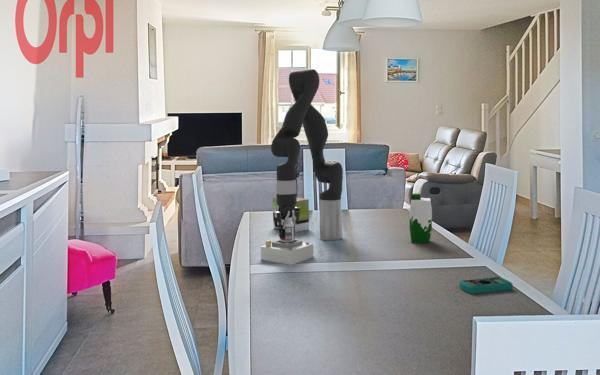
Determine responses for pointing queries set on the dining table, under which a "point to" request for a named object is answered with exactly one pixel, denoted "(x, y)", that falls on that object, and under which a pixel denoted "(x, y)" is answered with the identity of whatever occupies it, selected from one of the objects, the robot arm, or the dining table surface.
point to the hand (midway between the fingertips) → (287, 236)
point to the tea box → (303, 214)
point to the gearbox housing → (286, 251)
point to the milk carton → (420, 219)
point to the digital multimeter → (485, 285)
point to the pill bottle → (288, 231)
